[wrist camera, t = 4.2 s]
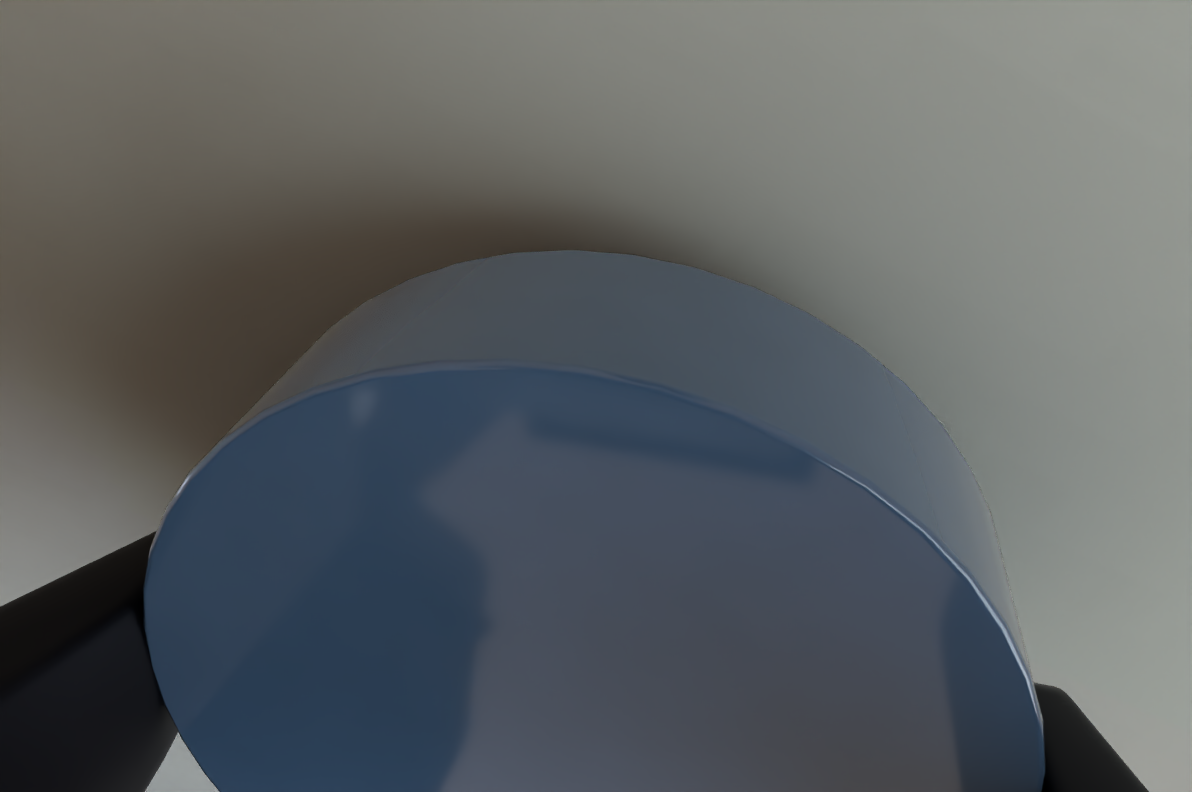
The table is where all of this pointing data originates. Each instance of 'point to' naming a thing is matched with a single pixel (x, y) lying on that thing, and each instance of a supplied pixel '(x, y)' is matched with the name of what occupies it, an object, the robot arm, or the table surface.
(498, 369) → the blue puck
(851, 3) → the table surface
